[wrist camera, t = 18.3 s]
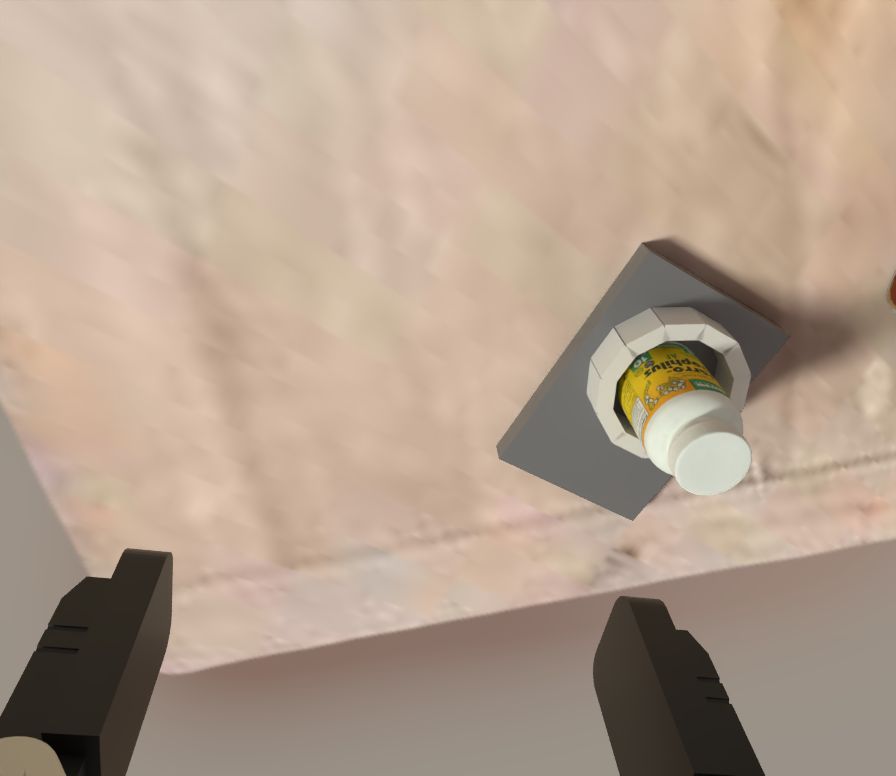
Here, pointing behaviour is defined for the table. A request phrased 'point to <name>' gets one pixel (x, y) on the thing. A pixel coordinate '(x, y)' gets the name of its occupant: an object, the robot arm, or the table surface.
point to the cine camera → (892, 293)
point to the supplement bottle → (684, 419)
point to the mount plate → (605, 360)
